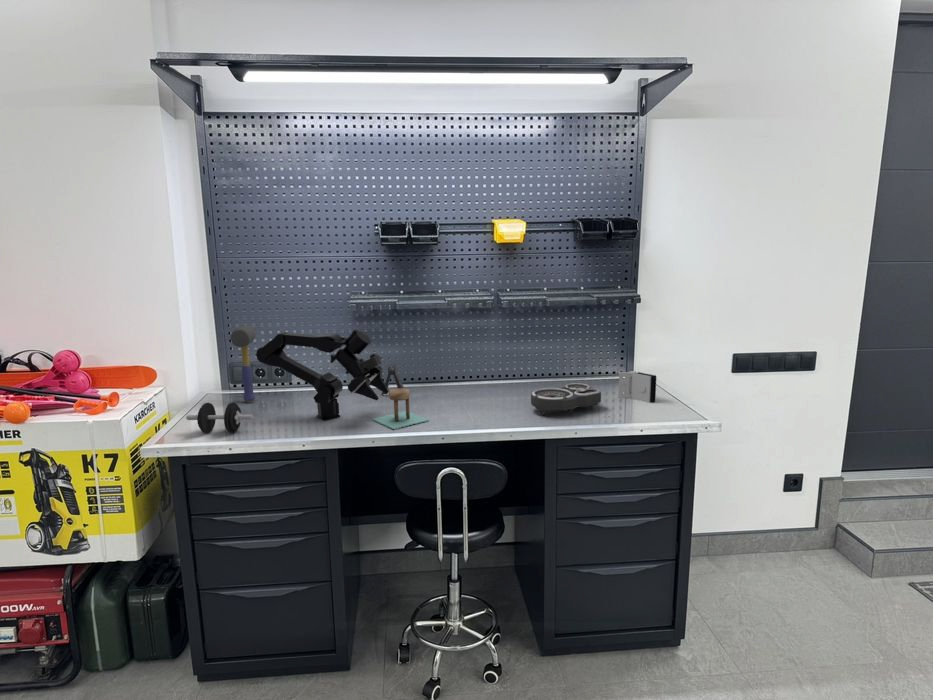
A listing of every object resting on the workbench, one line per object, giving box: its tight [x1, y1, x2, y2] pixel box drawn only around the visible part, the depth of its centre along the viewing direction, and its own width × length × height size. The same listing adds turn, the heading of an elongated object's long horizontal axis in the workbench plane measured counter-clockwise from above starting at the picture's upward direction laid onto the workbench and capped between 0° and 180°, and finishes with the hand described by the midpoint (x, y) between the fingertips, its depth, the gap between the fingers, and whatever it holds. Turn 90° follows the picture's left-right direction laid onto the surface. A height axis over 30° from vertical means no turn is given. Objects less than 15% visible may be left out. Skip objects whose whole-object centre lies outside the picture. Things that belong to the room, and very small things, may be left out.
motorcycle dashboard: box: [530, 382, 602, 417], centre depth 204 cm, size 26×16×7 cm, turn 120°
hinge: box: [617, 370, 657, 404], centre depth 216 cm, size 14×5×10 cm, turn 51°
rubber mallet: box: [230, 324, 257, 404], centre depth 219 cm, size 12×8×30 cm, turn 8°
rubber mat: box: [372, 410, 430, 430], centre depth 195 cm, size 14×14×1 cm
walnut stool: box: [388, 388, 411, 422], centre depth 194 cm, size 7×7×10 cm
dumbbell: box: [185, 401, 254, 434], centre depth 186 cm, size 22×10×10 cm, turn 88°
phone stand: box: [381, 362, 405, 396], centre depth 230 cm, size 9×6×12 cm, turn 91°
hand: (382, 395), depth 195 cm, fingers open, 9 cm apart
